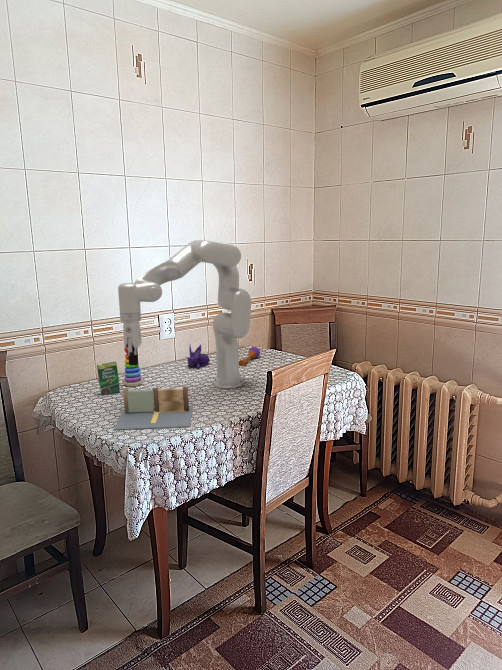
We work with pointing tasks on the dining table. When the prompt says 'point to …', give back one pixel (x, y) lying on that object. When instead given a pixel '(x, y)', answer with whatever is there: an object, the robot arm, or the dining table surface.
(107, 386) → the coffee box
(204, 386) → the dining table surface
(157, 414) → the card
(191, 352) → the creature
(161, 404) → the fence fixed
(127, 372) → the stacking toy
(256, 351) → the kendama
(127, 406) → the fence gate
